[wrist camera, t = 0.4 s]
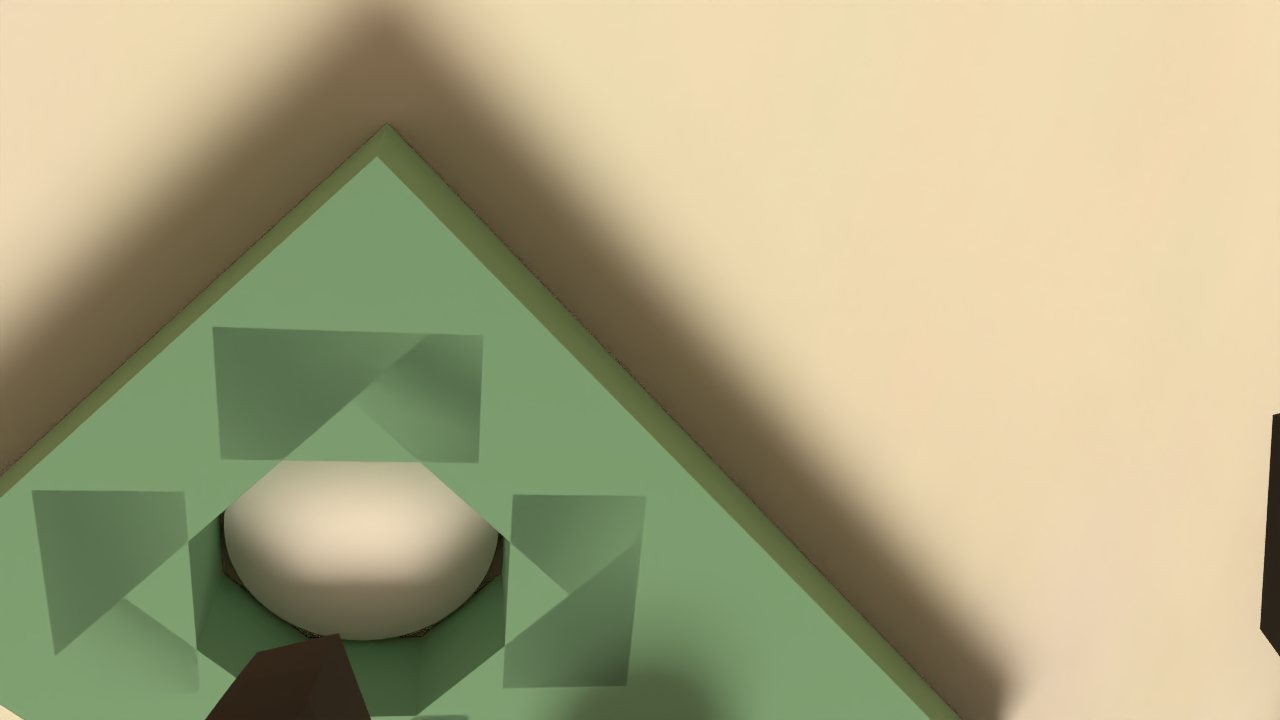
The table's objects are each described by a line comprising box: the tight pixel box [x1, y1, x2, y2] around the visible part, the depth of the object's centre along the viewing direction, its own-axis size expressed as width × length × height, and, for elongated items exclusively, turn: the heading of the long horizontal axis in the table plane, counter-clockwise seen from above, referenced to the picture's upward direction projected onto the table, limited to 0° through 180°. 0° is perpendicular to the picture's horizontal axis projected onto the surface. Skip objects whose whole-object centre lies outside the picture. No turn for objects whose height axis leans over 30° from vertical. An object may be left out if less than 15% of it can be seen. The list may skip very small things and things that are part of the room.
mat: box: [0, 123, 962, 720], centre depth 19 cm, size 17×10×2 cm, turn 39°
